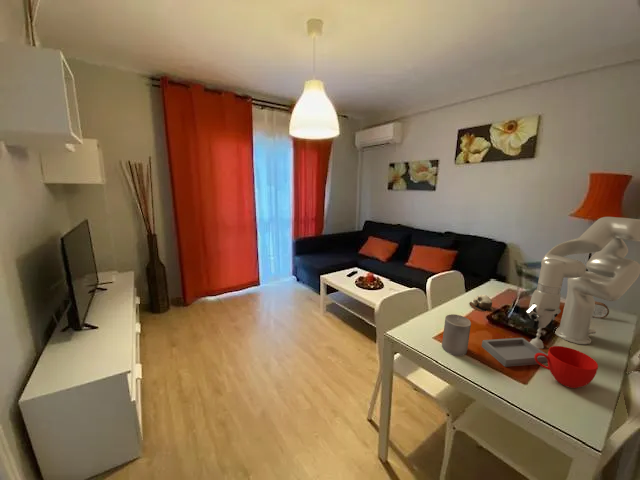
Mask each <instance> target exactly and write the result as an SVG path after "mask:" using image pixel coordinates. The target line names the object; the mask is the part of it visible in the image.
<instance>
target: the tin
mask: <svg viewBox="0 0 640 480" xmlns="http://www.w3.org/2000/svg"><path fill="white" fill-rule="evenodd" d="M594 301H595V300H594ZM609 314H610V309H609V307H608V305H607V304H606V303H604V302H600V301H595V308H594V312H593V316H592V318H595V319H603V318H606V317H607V316H609Z"/></svg>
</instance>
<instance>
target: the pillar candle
mask: <svg viewBox="0 0 640 480" xmlns="http://www.w3.org/2000/svg"><path fill="white" fill-rule="evenodd" d="M471 326H472V322H471V320H470V319H469V318H468V317H465V316H463V315H460V314H446V315H445V319H444V326H443V334H442V342H441V347H442V349H443V351H445V353H448V354H450V355H452V356H459V357H460V356H466V355H467V353H468V348H469V341H470V333H471Z"/></svg>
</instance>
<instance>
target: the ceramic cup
mask: <svg viewBox="0 0 640 480" xmlns="http://www.w3.org/2000/svg"><path fill="white" fill-rule="evenodd" d="M547 355H548V356H547ZM547 355H545V354H543V353H537V354H535V357H534V358H535V361H536V362H537V363H538V364H537V365H539V366H541V367H542V368H544V369H545V370H548V371H549V372H550V373H551V375H552V376H553V377H554V379H555V380H556V382H558V383H559V384H561V385H563V386H565V387H568V388H571V389H579V388H582V387H585V386H587V385H588V384H590V383H591V382H592V381H593V380H594V378H595V377H596V375H597V372H598V369H599V365H598V362H597V361H596V360H595V359H594V358H592V357H591V356H589V355H588V354H586V353H584V352H582V351H579V350H577V349H575V348H572V347H566V346H563V345H562V346H561V345H553V346H551V347H549V348H548V352H547ZM538 356H544V357H546V358H547V360H548V363H547V365H545V364H541V363H540V362H539V361H538V360H537V357H538Z"/></svg>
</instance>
